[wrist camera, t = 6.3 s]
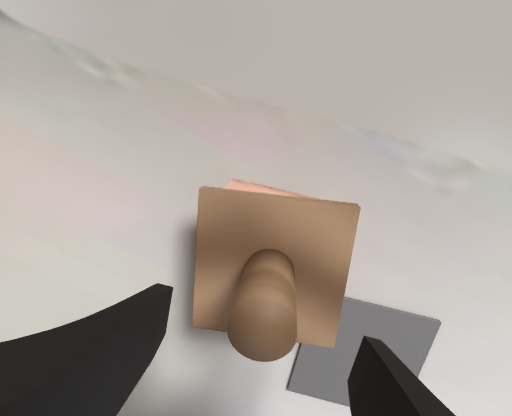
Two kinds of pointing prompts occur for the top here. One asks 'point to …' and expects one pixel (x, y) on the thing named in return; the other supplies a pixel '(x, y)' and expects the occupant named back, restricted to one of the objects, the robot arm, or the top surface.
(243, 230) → the lid
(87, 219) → the top surface
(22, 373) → the robot arm
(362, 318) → the mat
